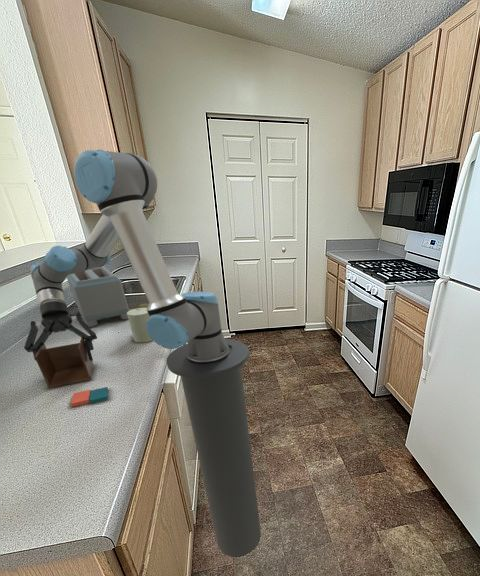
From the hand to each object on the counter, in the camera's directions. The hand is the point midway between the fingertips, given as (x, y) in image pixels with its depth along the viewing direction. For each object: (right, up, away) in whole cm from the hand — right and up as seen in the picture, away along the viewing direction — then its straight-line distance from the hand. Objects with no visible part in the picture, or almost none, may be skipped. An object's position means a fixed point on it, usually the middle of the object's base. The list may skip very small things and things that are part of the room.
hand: (67, 364), depth 106 cm
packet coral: (+11, -9, -10) cm, 17 cm away
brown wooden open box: (0, -4, +3) cm, 5 cm away
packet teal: (+15, -8, -9) cm, 20 cm away
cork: (+8, +15, +40) cm, 43 cm away
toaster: (-23, +24, +58) cm, 67 cm away
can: (+11, +10, +30) cm, 34 cm away
